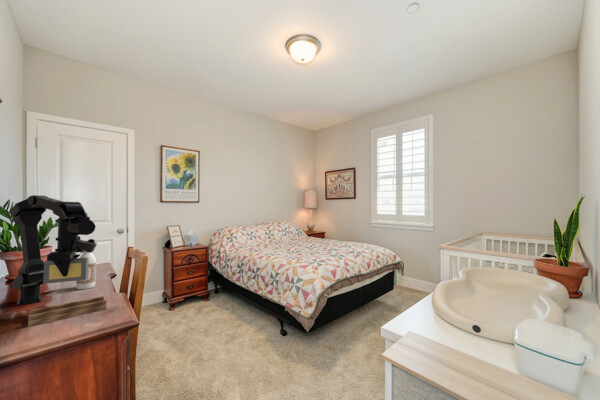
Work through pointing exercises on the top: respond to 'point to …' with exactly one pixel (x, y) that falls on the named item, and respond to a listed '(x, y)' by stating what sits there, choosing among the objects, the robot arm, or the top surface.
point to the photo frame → (76, 271)
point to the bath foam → (91, 272)
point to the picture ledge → (65, 310)
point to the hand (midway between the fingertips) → (66, 275)
